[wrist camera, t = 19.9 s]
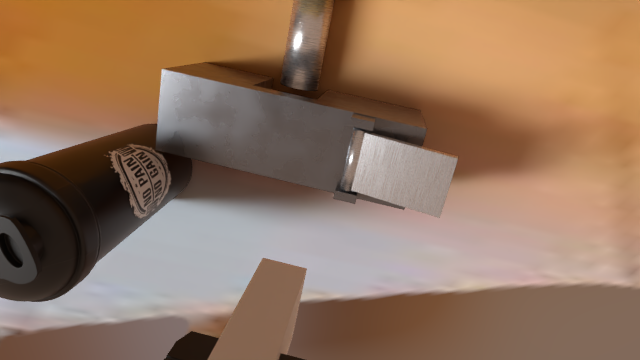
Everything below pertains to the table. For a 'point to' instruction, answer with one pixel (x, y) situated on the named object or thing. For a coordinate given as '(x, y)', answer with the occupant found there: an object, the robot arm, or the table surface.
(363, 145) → the plate
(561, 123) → the table surface
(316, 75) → the lynch pin
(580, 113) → the table surface
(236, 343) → the robot arm
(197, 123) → the hitch beam
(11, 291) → the water bottle
